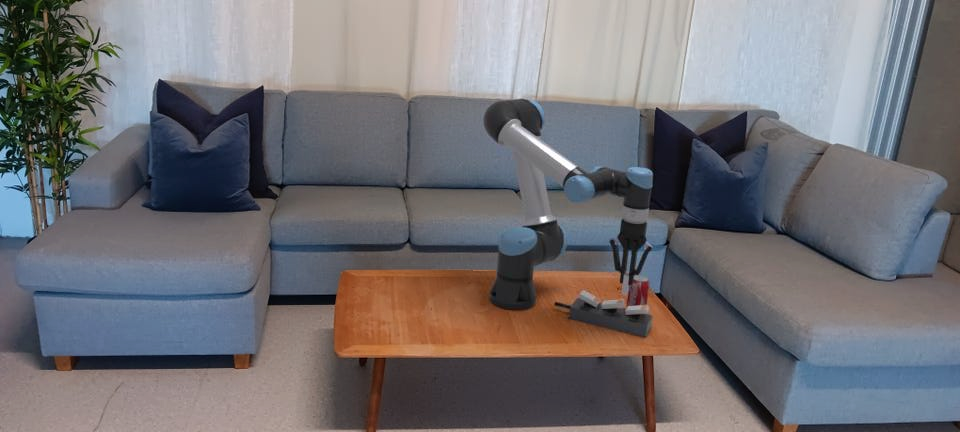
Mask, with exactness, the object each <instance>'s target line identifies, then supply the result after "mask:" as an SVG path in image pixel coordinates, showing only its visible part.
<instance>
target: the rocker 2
mask: <svg viewBox="0 0 960 432" xmlns="http://www.w3.org/2000/svg"><path fill="white" fill-rule="evenodd" d="M625 305H626V301H625V299H624V298H623V299H609V300H603V302H602V304H601V306H602V309H610V308H623V307H624V306H625Z"/></svg>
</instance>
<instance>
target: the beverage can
mask: <svg viewBox="0 0 960 432" xmlns="http://www.w3.org/2000/svg"><path fill="white" fill-rule="evenodd" d="M649 280H650V279H649V278H648V277H647V276H645V275H640V274H639V275H634V280H633V284H632V285H629V292H628V294H627V300H626V304H625V305H626V306H625V309H626V308H627V307H628V306H639V305H648V298H649V292H650V285H651V283H650V282H649Z"/></svg>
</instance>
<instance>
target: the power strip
mask: <svg viewBox="0 0 960 432" xmlns="http://www.w3.org/2000/svg"><path fill="white" fill-rule="evenodd" d="M602 303H603V302H602ZM602 303H601V302H600V303H599V305H598V306H597V307H594V306H593V305H591V304H589V303H587V302H586V301H584V300H582V299H580V298H579V297H577V298H576V299H575V300H574V302H573V303H572V304H571V305H570V304H566V303H562V302H558V301H555V302H554V304H553V305H554V306H555V307H559V308H563V309H568V310H569V313H568V319H569V320H574V321H577V322H580V323H581V322H582V323H586V324H589V325H593V326H597V327H601V328H605V329H609V330H614V331H617V332H621V333H623V334H624V333H625V334H629V335H633V336H637V337H640V338H645V339H646V338H647V336H648V334H649V332H650V330H651V328H652V324H653V318H654V317H653V315H652V314H648V313H647V314H630V315H626V312H625V310H626V308H623V307H622V308H610V309H602V306H601V304H602Z"/></svg>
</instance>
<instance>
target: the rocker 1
mask: <svg viewBox="0 0 960 432" xmlns="http://www.w3.org/2000/svg"><path fill="white" fill-rule="evenodd" d="M577 298H580V299H582V300H584V301H586V302H587V303H589V304H591V305H593V306H594V307H597V306H598V305H599V303H601V301H602V300H601V298H598V297H597V296H595V295H594V294H592V293H589V292H588V291H587V290H584V289H582V290H581V292H579V294H578V297H577Z"/></svg>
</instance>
